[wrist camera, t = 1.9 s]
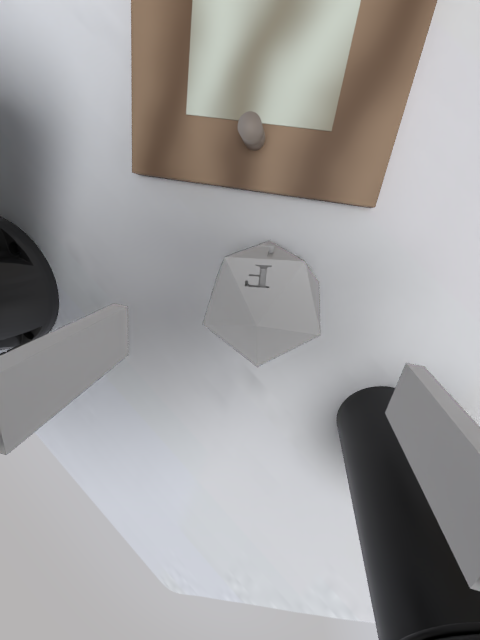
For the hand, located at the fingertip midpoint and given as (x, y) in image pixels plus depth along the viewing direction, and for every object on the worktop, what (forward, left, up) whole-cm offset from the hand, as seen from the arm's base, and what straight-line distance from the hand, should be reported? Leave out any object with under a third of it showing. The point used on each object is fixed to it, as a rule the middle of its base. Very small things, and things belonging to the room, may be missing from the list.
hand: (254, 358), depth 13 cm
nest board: (-3, +18, -14) cm, 23 cm away
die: (0, 0, -14) cm, 14 cm away
